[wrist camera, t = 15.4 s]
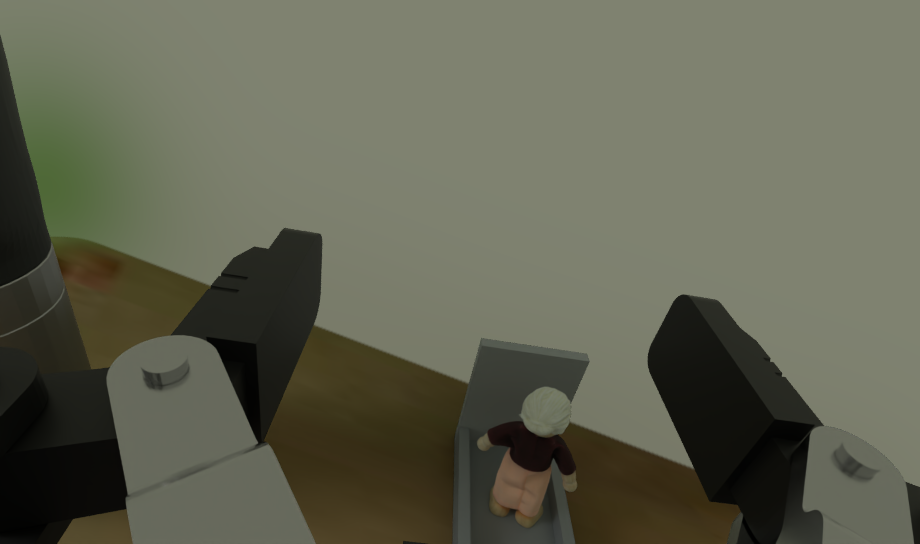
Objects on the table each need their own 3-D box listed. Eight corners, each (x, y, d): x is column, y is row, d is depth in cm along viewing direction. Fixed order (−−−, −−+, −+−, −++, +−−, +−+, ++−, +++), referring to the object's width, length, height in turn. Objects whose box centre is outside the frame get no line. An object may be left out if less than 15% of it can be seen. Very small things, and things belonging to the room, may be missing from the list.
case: (451, 586, 33) (488, 484, 27) (454, 435, 44) (481, 338, 38) (572, 598, 34) (634, 502, 28) (546, 447, 45) (587, 353, 39)
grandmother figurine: (554, 494, 40) (606, 388, 33) (554, 539, 37) (612, 432, 30) (465, 471, 40) (499, 361, 34) (458, 513, 37) (494, 401, 30)
